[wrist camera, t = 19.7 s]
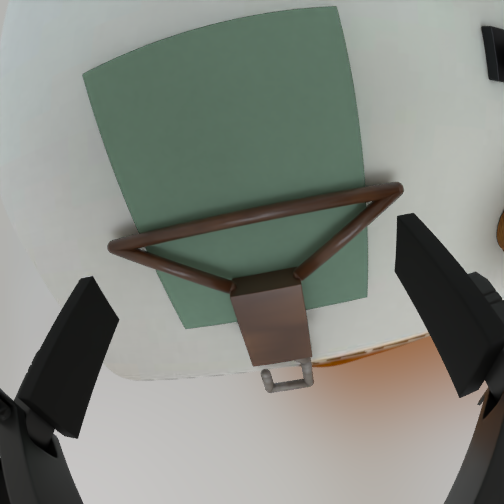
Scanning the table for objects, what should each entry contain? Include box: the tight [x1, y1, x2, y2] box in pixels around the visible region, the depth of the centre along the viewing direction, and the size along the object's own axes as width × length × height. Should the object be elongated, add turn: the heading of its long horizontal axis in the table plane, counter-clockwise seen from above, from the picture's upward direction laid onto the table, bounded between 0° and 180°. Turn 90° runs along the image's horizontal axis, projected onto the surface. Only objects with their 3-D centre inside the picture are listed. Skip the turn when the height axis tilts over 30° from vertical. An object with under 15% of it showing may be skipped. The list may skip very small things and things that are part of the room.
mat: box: [83, 6, 368, 329], centre depth 20 cm, size 22×16×1 cm
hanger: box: [107, 182, 404, 393], centre depth 23 cm, size 21×2×18 cm
